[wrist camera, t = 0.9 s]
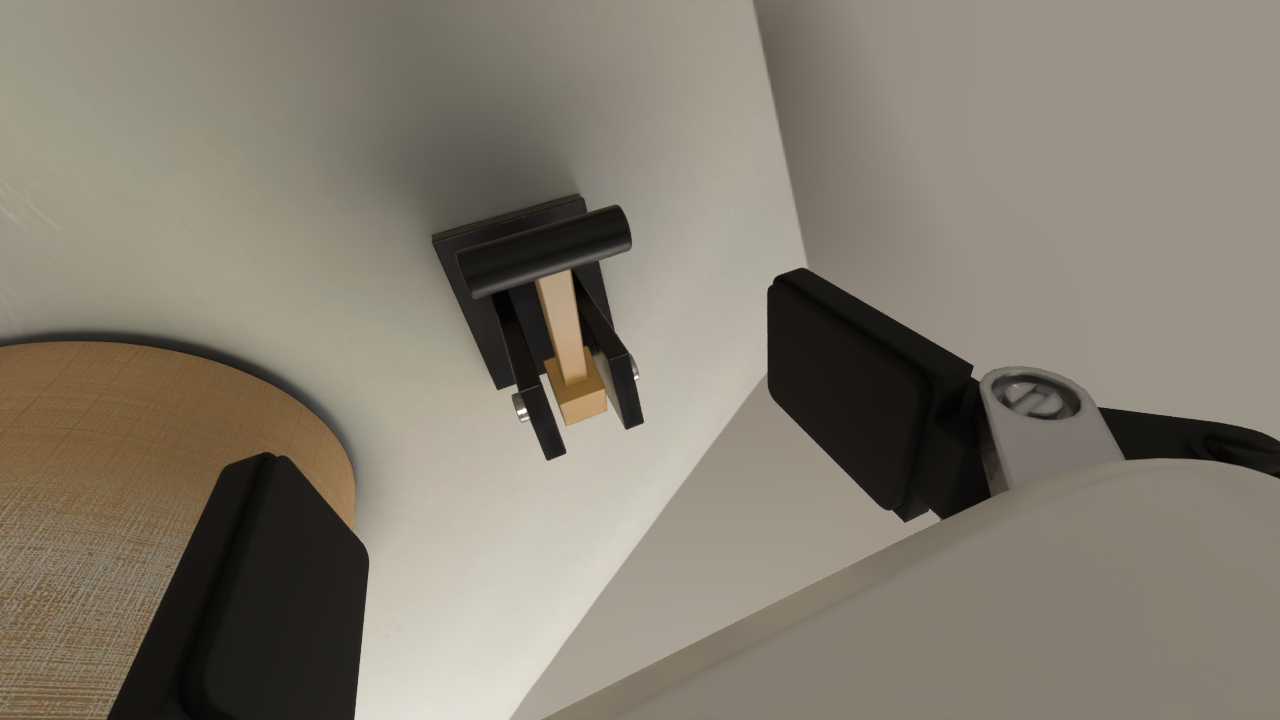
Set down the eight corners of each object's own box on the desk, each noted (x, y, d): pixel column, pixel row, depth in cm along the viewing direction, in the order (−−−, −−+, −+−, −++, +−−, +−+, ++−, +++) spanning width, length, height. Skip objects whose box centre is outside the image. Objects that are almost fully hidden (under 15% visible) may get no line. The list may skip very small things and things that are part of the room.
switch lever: (446, 229, 14) (466, 293, 13) (609, 183, 15) (639, 239, 14) (524, 395, 25) (539, 437, 24) (616, 362, 26) (633, 401, 25)
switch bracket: (430, 235, 28) (438, 343, 18) (579, 193, 30) (660, 270, 20) (495, 381, 34) (526, 520, 24) (613, 339, 36) (688, 453, 26)
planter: (415, 519, 38) (413, 851, 23) (99, 649, 34) (-172, 1166, 18) (220, 267, 25) (-108, 644, 9) (-333, 430, 21) (-2559, 1584, 5)
